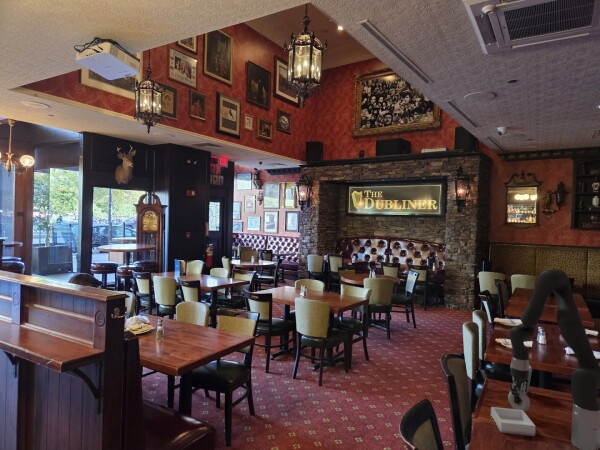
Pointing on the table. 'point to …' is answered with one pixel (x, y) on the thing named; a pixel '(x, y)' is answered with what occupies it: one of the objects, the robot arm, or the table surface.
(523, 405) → the donut
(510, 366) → the disposable coffee cup
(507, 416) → the walled tray
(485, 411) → the table surface
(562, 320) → the robot arm
